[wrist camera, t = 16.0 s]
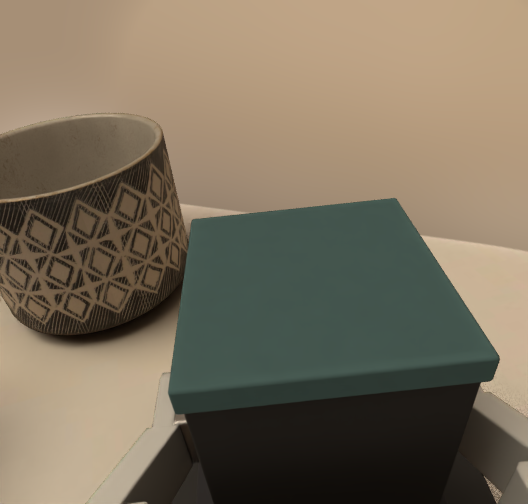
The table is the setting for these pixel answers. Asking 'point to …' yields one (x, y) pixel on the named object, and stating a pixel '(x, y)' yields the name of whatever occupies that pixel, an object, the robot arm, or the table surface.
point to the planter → (88, 222)
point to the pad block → (323, 357)
